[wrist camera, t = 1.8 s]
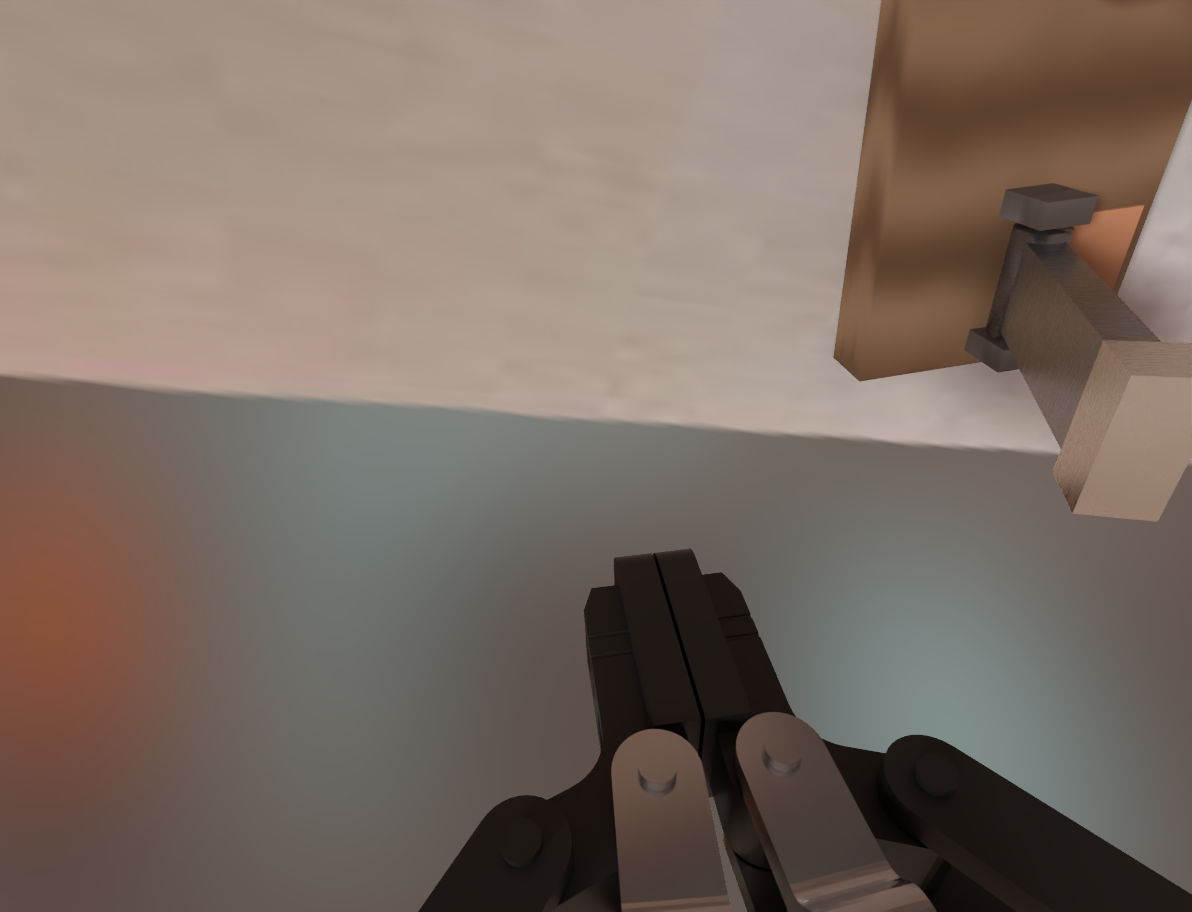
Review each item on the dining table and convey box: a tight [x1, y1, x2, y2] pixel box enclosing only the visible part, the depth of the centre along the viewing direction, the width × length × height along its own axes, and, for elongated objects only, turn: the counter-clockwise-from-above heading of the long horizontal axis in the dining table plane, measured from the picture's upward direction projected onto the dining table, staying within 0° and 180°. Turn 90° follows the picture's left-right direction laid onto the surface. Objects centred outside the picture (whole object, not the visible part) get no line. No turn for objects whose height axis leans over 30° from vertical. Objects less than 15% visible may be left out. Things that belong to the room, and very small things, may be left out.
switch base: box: [834, 0, 1192, 381], centre depth 28 cm, size 26×14×6 cm, turn 5°
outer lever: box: [985, 223, 1192, 521], centre depth 26 cm, size 5×2×16 cm, turn 5°
